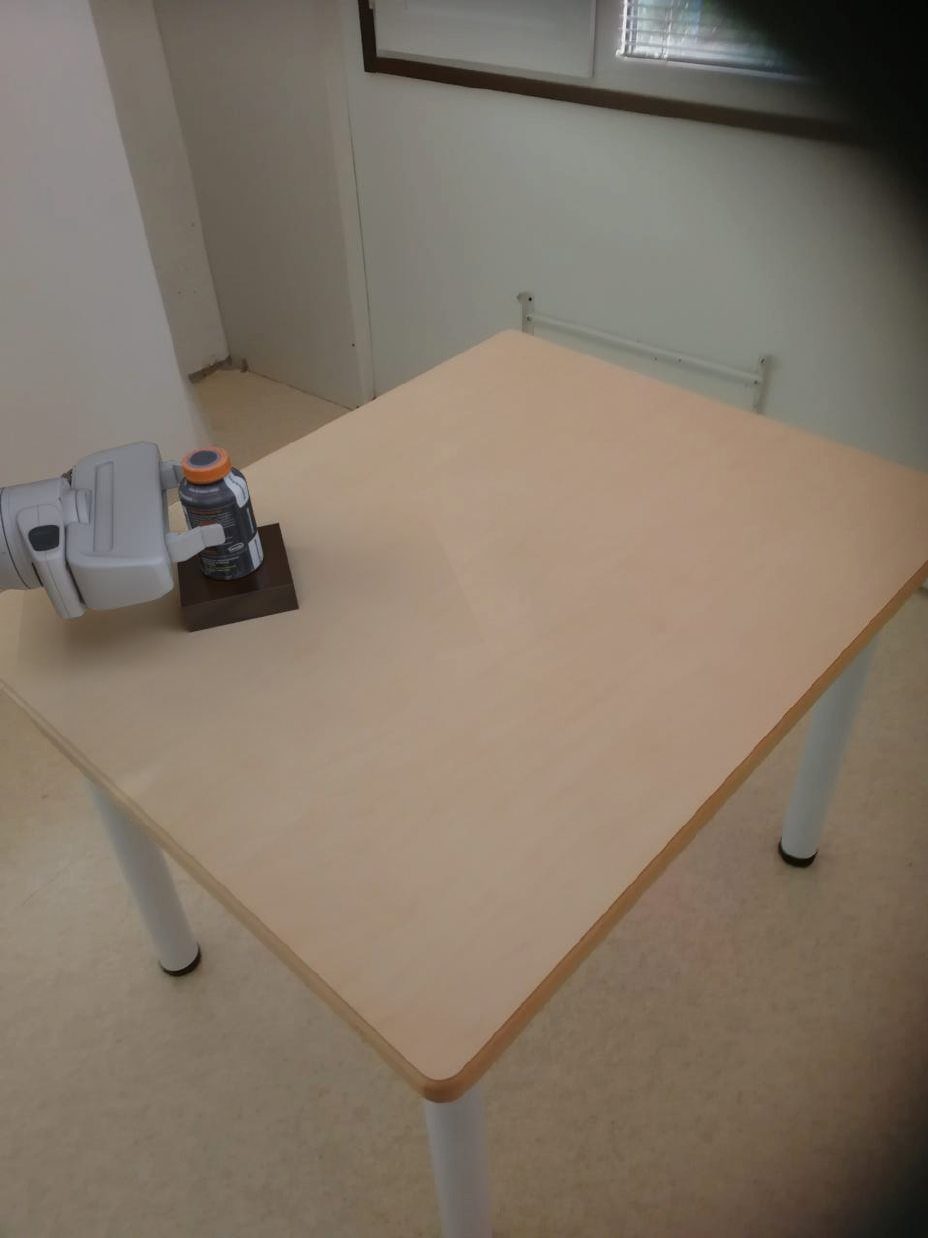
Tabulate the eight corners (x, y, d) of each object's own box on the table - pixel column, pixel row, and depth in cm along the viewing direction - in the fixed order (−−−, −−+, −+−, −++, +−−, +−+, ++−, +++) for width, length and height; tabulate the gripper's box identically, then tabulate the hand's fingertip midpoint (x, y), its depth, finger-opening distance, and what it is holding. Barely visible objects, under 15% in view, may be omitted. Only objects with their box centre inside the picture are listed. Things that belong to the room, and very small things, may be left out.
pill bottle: (277, 554, 89) (254, 449, 82) (234, 590, 86) (205, 483, 78) (230, 536, 92) (203, 432, 84) (186, 569, 88) (154, 464, 81)
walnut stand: (189, 632, 86) (181, 607, 84) (182, 567, 93) (175, 543, 91) (299, 608, 88) (293, 583, 86) (284, 547, 95) (278, 522, 93)
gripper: (71, 498, 91) (217, 470, 93) (63, 633, 76) (237, 597, 78) (49, 440, 87) (202, 413, 89) (35, 571, 72) (220, 534, 74)
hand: (219, 500), depth 84 cm, fingers open, 8 cm apart
